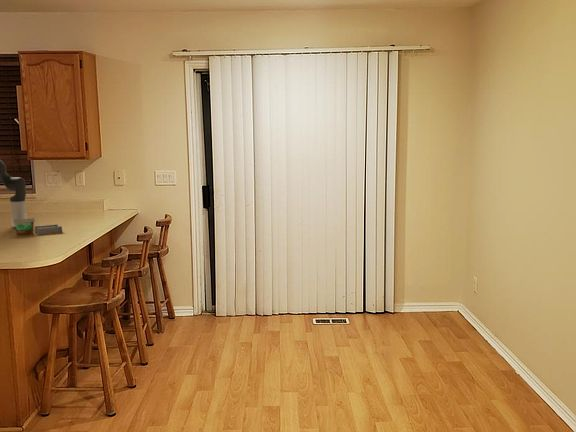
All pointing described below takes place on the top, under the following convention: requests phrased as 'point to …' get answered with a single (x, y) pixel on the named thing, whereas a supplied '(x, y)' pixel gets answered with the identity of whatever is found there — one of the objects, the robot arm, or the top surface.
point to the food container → (24, 226)
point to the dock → (48, 229)
